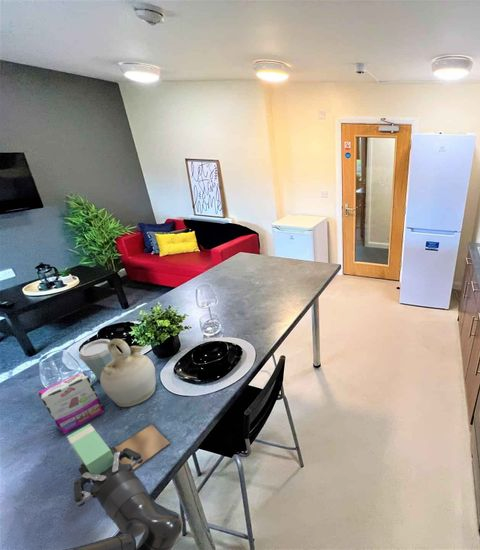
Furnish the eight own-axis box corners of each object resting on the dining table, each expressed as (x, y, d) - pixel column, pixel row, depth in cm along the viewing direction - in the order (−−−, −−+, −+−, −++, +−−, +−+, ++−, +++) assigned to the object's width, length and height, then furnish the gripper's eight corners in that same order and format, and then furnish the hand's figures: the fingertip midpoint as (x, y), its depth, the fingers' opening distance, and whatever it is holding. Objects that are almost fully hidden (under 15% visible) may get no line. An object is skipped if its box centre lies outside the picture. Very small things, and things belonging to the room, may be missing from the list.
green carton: (99, 489, 77) (85, 465, 72) (79, 460, 83) (66, 436, 79) (122, 473, 81) (110, 449, 76) (101, 446, 87) (89, 423, 83)
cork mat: (125, 476, 82) (125, 475, 82) (108, 453, 88) (107, 452, 88) (170, 443, 92) (169, 442, 92) (151, 424, 97) (151, 424, 97)
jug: (147, 373, 118) (129, 322, 108) (168, 389, 112) (151, 336, 101) (101, 398, 106) (76, 343, 96) (122, 418, 99) (97, 361, 89)
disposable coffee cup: (129, 375, 117) (117, 345, 111) (94, 390, 109) (79, 359, 103) (121, 363, 123) (109, 334, 117) (88, 377, 115) (73, 346, 109)
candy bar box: (100, 405, 104) (83, 370, 97) (105, 412, 101) (89, 376, 94) (57, 428, 95) (36, 391, 88) (62, 436, 93) (40, 398, 86)
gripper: (152, 461, 74) (123, 428, 82) (80, 516, 63) (54, 471, 71) (160, 479, 77) (131, 445, 85) (91, 534, 66) (66, 489, 74)
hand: (96, 457), depth 78 cm, fingers closed on green carton, 5 cm apart
